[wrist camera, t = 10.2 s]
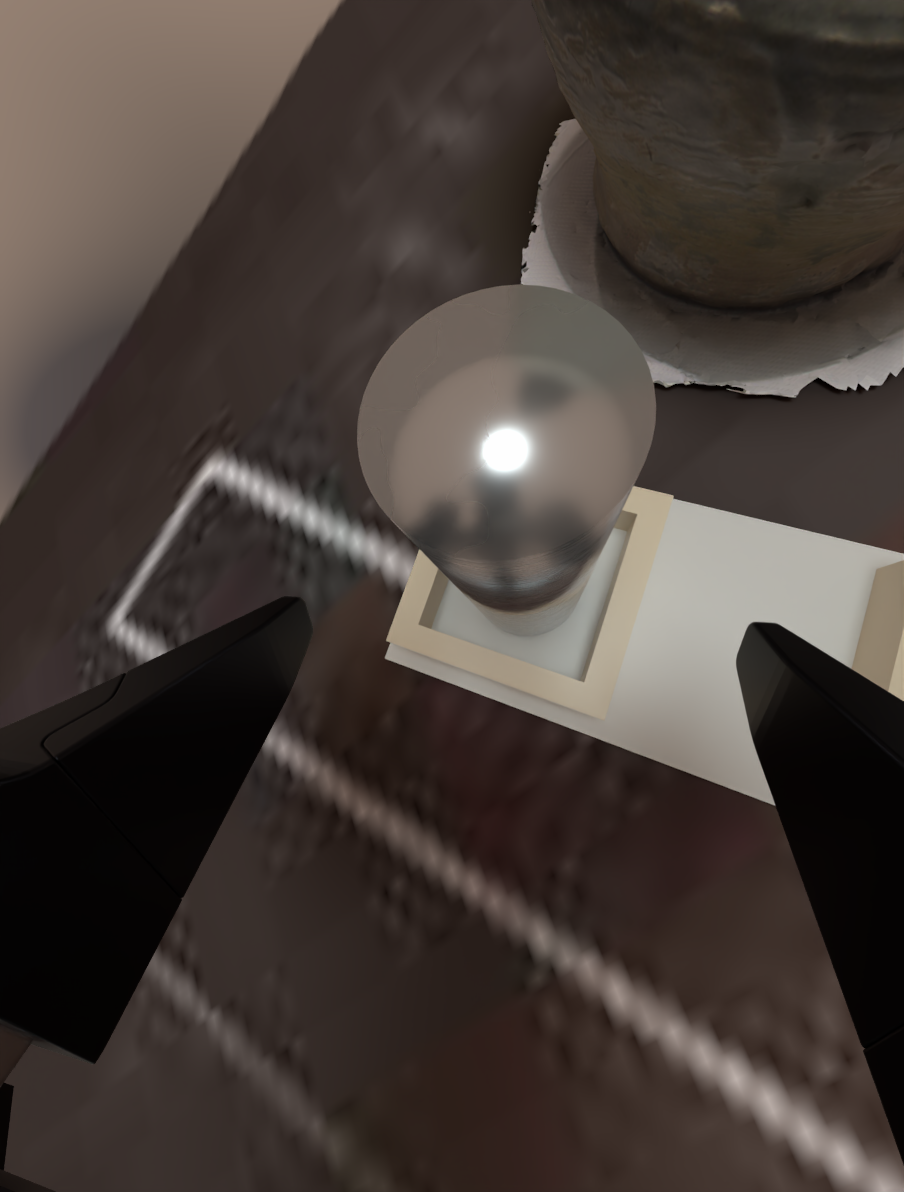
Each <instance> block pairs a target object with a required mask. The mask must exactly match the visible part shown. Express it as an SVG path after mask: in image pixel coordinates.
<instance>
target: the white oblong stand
mask: <svg viewBox="0 0 904 1192" xmlns="http://www.w3.org/2000/svg"><path fill="white" fill-rule="evenodd" d="M752 622H771V623H777V624H779V625H781V626H783V627H784V628H786V629H788V630H789V631H791V632H793V633H794V634H796V635H797V636H799V637H801V638H802V639H804V640H805V641H807V642H809V643H810V644H812V645H814V646H815V647H817V648H818V649H820V650H822V651H823V652H825V653H827V654H828V655H830V656H831V657H833V658H835V659H836V660H838V661H839V662H841V663H843V664H844V665H846V666H848V667H849V668H851V669H852V670H854V671H856V672H857V673H859V674H861V675H862V676H864V677H865V678H867V679H869V680H870V681H872V682H873V683H875V684H877V685H878V686H880V687H882V688H883V689H885V690H886V691H888V692H890V693H891V694H893V695H895V696H896V697H898V698H899V699H901V700H903V701H904V554H902V553H898V552H894V551H890V550H885V549H881V548H877V547H873V546H869V545H864V544H860V543H856V542H852V541H848V540H844V539H839V538H835V537H831V536H827V535H823V534H818V533H814V532H810V531H806V530H802V529H797V528H793V527H789V526H785V525H781V524H776V523H772V522H768V521H764V520H760V519H756V518H751V517H747V516H743V515H739V514H735V513H730V512H726V511H722V510H718V509H714V508H709V507H705V506H701V505H697V504H693V503H688V502H684V501H680V500H676V499H673V495H669V494H665V493H660V492H656V491H652V490H648V489H643V488H639V487H635V486H633V488H632V490H631V492H630V494H629V496H628V499H627V501H626V503H625V505H624V507H623V509H622V511H621V513H620V515H619V517H618V520H617V522H616V524H615V526H614V528H613V530H612V532H611V534H610V536H609V538H608V541H607V543H606V545H605V547H604V549H603V551H602V553H601V555H600V557H599V560H598V562H597V564H596V566H595V568H594V570H593V572H592V574H591V576H590V578H589V581H588V583H587V585H586V587H585V589H584V591H583V593H582V595H581V597H580V599H579V602H578V604H577V606H576V608H575V610H574V611H573V613H572V614H571V615H570V617H569V618H568V619H567V620H566V621H565V622H564V623H562V624H561V625H560V626H559V627H557V628H555V629H554V630H552V631H549V632H547V633H544V634H541V635H535V636H519V635H514V634H511V633H508V632H505V631H503V630H501V629H499V628H498V627H496V626H495V625H494V624H492V623H491V622H490V621H489V620H488V619H487V618H486V617H485V616H484V615H483V614H482V613H481V612H480V611H479V610H478V609H477V608H476V607H475V606H474V604H473V603H472V602H471V601H470V600H469V599H468V598H467V597H466V596H465V595H464V594H463V593H462V592H461V591H460V590H459V589H458V588H457V587H456V586H455V585H454V584H453V583H452V582H451V581H450V580H449V579H448V578H447V577H446V576H445V575H444V574H443V573H442V572H441V571H440V570H439V569H438V568H437V567H436V566H435V565H434V563H433V562H432V561H431V560H430V559H429V558H428V557H427V556H426V555H425V554H424V553H423V552H422V551H421V550H420V549H419V552H418V555H417V558H416V560H415V563H414V566H413V568H412V571H411V574H410V577H409V579H408V582H407V585H406V587H405V590H404V593H403V596H402V598H401V601H400V604H399V606H398V609H397V612H396V615H395V617H394V620H393V623H392V625H391V628H390V631H389V634H388V636H387V639H386V641H388V642H391V643H390V645H389V648H388V651H387V654H386V656H385V659H387V660H390V661H393V662H395V663H398V664H401V665H403V666H406V667H409V668H411V669H414V670H417V671H419V672H422V673H425V674H427V675H430V676H433V677H435V678H438V679H441V680H443V681H446V682H448V683H451V684H454V685H456V686H459V687H462V688H464V689H467V690H470V691H472V692H475V693H478V694H480V695H483V696H486V697H488V698H491V699H494V700H496V701H499V702H502V703H504V704H507V705H510V706H512V707H515V708H517V709H520V710H523V711H525V712H528V713H531V714H533V715H536V716H539V717H541V718H544V719H547V720H549V721H552V722H555V723H557V724H560V725H563V726H565V727H568V728H571V729H573V730H576V731H578V732H581V733H584V734H586V735H589V736H592V737H594V738H597V739H600V740H602V741H605V742H608V743H610V744H613V745H616V746H618V747H621V748H624V749H626V750H629V751H632V752H634V753H637V754H639V755H642V756H645V757H647V758H650V759H653V760H655V761H658V762H661V763H663V764H666V765H669V766H671V767H674V768H677V769H679V770H682V771H685V772H687V773H690V774H693V775H695V776H698V777H701V778H703V779H706V780H708V781H711V782H714V783H716V784H719V785H722V786H724V787H727V788H730V789H732V790H735V791H738V792H740V793H743V794H746V795H748V796H751V797H754V798H756V799H759V800H762V801H764V802H767V803H769V804H772V805H775V803H774V800H773V797H772V794H771V792H770V789H769V786H768V783H767V780H766V778H765V775H764V772H763V769H762V767H761V764H760V761H759V758H758V755H757V753H756V749H755V746H754V743H753V740H752V736H751V732H750V728H749V724H748V719H747V715H746V710H745V706H744V701H743V697H742V692H741V687H740V683H739V678H738V674H737V669H736V657H737V653H738V650H739V648H740V645H741V642H742V640H743V637H744V634H745V631H746V629H747V627H748V625H749V624H750V623H752Z"/></svg>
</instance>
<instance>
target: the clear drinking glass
mask: <svg viewBox="0 0 904 1192" xmlns="http://www.w3.org/2000/svg"><path fill="white" fill-rule="evenodd" d="M655 420H656V399H655V390H654V384H653V380H652V376H651V373H650V369H649V366H648V364H647V362H646V360H645V357H644V355H643V353H642V351H641V349H640V348H639V346H638V345H637V343H636V342H635V340H634V339H633V337H632V335H631V334H630V333H629V332H628V331H627V330H626V329H625V328H624V327H623V325H622V324H621V323H620V322H619V321H618V320H616V319H615V318H614V317H613V316H612V315H610V314H609V313H608V312H607V311H606V310H604V309H602V308H601V307H599V306H597V305H596V304H594V303H593V302H591V301H589V300H587V299H584V298H582V297H580V296H578V295H575V294H573V293H570V292H566V291H563V290H559V289H556V288H550V287H544V286H538V285H507V286H498V287H492V288H487V289H482V290H478V291H475V292H472V293H469V294H465V295H463V296H460V297H458V298H456V299H453V300H451V301H448V302H446V303H445V304H443V305H441V306H439V307H437V308H436V309H434V310H432V311H430V312H429V313H428V314H426V315H425V316H423V317H422V318H420V319H419V320H418V321H416V322H415V323H414V324H413V325H412V326H410V327H409V328H408V329H407V330H406V331H405V332H404V333H402V335H401V336H400V337H399V338H398V339H397V340H396V341H395V342H394V343H393V344H392V346H391V347H390V348H389V349H388V351H387V352H386V353H385V355H384V356H383V358H382V359H381V360H380V362H379V364H378V365H377V367H376V369H375V371H374V372H373V374H372V376H371V378H370V381H369V383H368V385H367V388H366V390H365V393H364V396H363V400H362V403H361V407H360V412H359V419H358V425H357V445H358V453H359V460H360V464H361V468H362V472H363V475H364V478H365V480H366V482H367V485H368V487H369V489H370V492H371V493H372V495H373V497H374V498H375V500H376V501H377V503H378V505H379V506H380V507H381V509H382V510H383V511H384V512H385V513H386V515H387V516H388V517H389V518H390V519H391V520H392V521H393V522H394V524H395V525H396V526H397V527H398V528H399V529H400V530H401V531H402V532H403V533H404V534H405V535H406V536H407V537H408V538H409V539H410V540H411V541H412V542H413V543H414V544H415V545H416V546H417V547H418V548H419V549H420V550H421V551H422V552H423V553H424V554H425V555H426V556H427V557H428V558H429V559H430V560H431V561H432V562H433V563H434V565H435V566H436V567H437V568H438V569H439V570H440V571H441V572H442V573H443V574H444V575H445V576H446V577H447V578H448V579H449V580H450V581H451V582H452V583H453V584H454V585H455V586H456V587H457V588H458V589H459V590H460V591H461V592H462V593H463V594H464V595H465V596H466V597H467V598H468V599H469V600H470V601H471V602H472V603H473V604H474V606H475V607H476V608H477V609H478V610H479V611H480V612H481V613H482V614H483V615H484V616H485V617H486V618H487V619H488V620H489V621H490V622H491V623H492V624H494V625H495V626H496V627H498V628H499V629H501V630H503V631H505V632H508V633H511V634H514V635H519V636H535V635H541V634H544V633H547V632H549V631H552V630H554V629H555V628H557V627H559V626H560V625H561V624H562V623H564V622H565V621H566V620H567V619H568V618H569V617H570V615H571V614H572V613H573V611H574V610H575V608H576V606H577V604H578V602H579V599H580V597H581V595H582V593H583V591H584V589H585V587H586V585H587V583H588V581H589V578H590V576H591V574H592V572H593V570H594V568H595V566H596V564H597V562H598V560H599V557H600V555H601V553H602V551H603V549H604V547H605V545H606V543H607V541H608V538H609V536H610V534H611V532H612V530H613V528H614V526H615V524H616V522H617V520H618V517H619V515H620V513H621V511H622V509H623V507H624V505H625V503H626V501H627V499H628V496H629V494H630V492H631V490H632V488H633V486H634V484H635V482H636V480H637V477H638V475H639V473H640V471H641V469H642V467H643V465H644V463H645V460H646V457H647V455H648V452H649V449H650V446H651V443H652V438H653V433H654V428H655Z"/></svg>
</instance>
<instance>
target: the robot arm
mask: <svg viewBox="0 0 904 1192" xmlns="http://www.w3.org/2000/svg"><path fill="white" fill-rule="evenodd" d="M312 634H313V626H312V622H311V619H310V616H309V613H308V610H307V606H306V603H305V601H304V600H303V599H302V598H301V597H292V596H284V597H281V598H279V599H277V600H275V601H273V602H271V603H269V604H267V605H265V606H262V607H260V608H258V609H256V610H254V611H252V612H250V613H248V614H246V615H244V616H242V617H240V618H238V619H235V620H233V621H231V622H229V623H227V624H225V625H223V626H221V627H219V628H217V629H215V630H213V631H210V632H208V633H206V634H204V635H202V636H200V637H198V638H196V639H194V640H192V641H190V642H188V643H186V644H183V645H181V646H179V647H177V648H175V649H173V650H171V651H169V652H167V653H165V654H163V655H161V656H158V657H156V658H154V659H152V660H150V661H148V662H146V663H144V664H142V665H140V666H138V667H136V668H134V669H131V670H129V671H128V672H127V674H125V673H123V674H121V675H119V676H117V677H115V678H113V679H110V680H108V681H106V682H104V683H102V684H100V685H98V686H96V687H93V688H91V689H89V690H87V691H85V692H83V693H81V694H78V695H76V696H74V697H72V698H70V699H67V700H65V701H63V702H60V703H58V704H56V705H54V706H51V707H49V708H47V709H44V710H42V711H40V712H37V713H35V714H33V715H30V716H28V717H26V718H23V719H21V720H19V721H16V722H14V723H12V724H9V725H7V726H5V727H2V728H0V1192H55V1191H53V1190H50V1189H48V1188H46V1187H43V1186H41V1185H38V1184H36V1183H33V1182H31V1181H28V1180H26V1179H23V1178H21V1177H18V1176H16V1175H13V1174H11V1173H8V1172H6V1171H4V1164H5V1155H6V1147H7V1138H8V1130H9V1122H10V1113H11V1105H12V1096H13V1088H14V1086H12V1085H9V1084H6V1083H4V1082H5V1080H6V1079H7V1077H8V1076H9V1074H10V1073H11V1072H12V1070H13V1069H14V1067H15V1066H16V1064H17V1063H18V1062H19V1060H20V1059H21V1057H22V1056H23V1054H24V1053H25V1052H26V1050H27V1049H28V1047H29V1046H30V1044H32V1045H35V1046H38V1047H41V1048H44V1049H47V1050H50V1051H53V1052H56V1053H60V1054H63V1055H66V1056H69V1057H72V1058H75V1059H78V1060H81V1061H84V1062H87V1063H90V1064H95V1063H96V1061H97V1060H98V1058H99V1057H100V1055H101V1053H102V1052H103V1050H104V1048H105V1046H106V1045H107V1043H108V1041H109V1039H110V1037H111V1035H112V1033H113V1031H114V1029H115V1028H116V1026H117V1024H118V1022H119V1020H120V1018H121V1016H122V1014H123V1012H124V1010H125V1008H126V1006H127V1005H128V1003H129V1001H130V999H131V997H132V995H133V993H134V991H135V989H136V987H137V985H138V983H139V981H140V980H141V978H142V976H143V974H144V972H145V970H146V968H147V966H148V964H149V962H150V960H151V958H152V957H153V955H154V953H155V951H156V949H157V947H158V945H159V943H160V941H161V939H162V937H163V936H164V934H165V932H166V930H167V928H168V926H169V924H170V922H171V920H172V918H173V916H174V915H175V913H176V911H177V909H178V907H179V905H180V903H181V901H182V899H181V898H183V897H184V895H185V893H186V891H187V889H188V887H189V885H190V883H191V881H192V879H193V878H194V876H195V874H196V872H197V870H198V868H199V866H200V864H201V862H202V860H203V858H204V856H205V855H206V853H207V851H208V849H209V847H210V845H211V843H212V841H213V839H214V837H215V835H216V834H217V832H218V830H219V828H220V826H221V824H222V822H223V820H224V818H225V816H226V814H227V812H228V811H229V809H230V807H231V805H232V803H233V801H234V799H235V797H236V795H237V793H238V791H239V789H240V788H241V786H242V784H243V782H244V780H245V778H246V776H247V774H248V772H249V770H250V768H251V767H252V765H253V763H254V761H255V759H256V757H257V755H258V753H259V751H260V749H261V747H262V745H263V744H264V742H265V740H266V738H267V736H268V734H269V732H270V730H271V728H272V726H273V724H274V722H275V721H276V719H277V717H278V715H279V713H280V711H281V709H282V707H283V705H284V703H285V701H286V699H287V697H288V695H289V693H290V691H291V689H292V686H293V684H294V681H295V679H296V676H297V674H298V671H299V669H300V666H301V664H302V661H303V658H304V656H305V653H306V651H307V648H308V646H309V643H310V641H311V638H312ZM736 669H737V674H738V678H739V683H740V687H741V692H742V697H743V701H744V706H745V710H746V715H747V719H748V724H749V728H750V732H751V736H752V740H753V743H754V746H755V749H756V753H757V755H758V758H759V761H760V764H761V767H762V769H763V772H764V775H765V778H766V780H767V783H768V786H769V789H770V792H771V794H772V797H773V800H774V803H775V806H776V808H777V811H778V814H779V817H780V820H781V822H782V825H783V828H784V831H785V834H786V836H787V839H788V842H789V845H790V847H791V850H792V853H793V856H794V859H795V861H796V864H797V867H798V870H799V873H800V875H801V878H802V881H803V884H804V887H805V889H806V892H807V895H808V898H809V901H810V903H811V906H812V909H813V912H814V914H815V917H816V920H817V923H818V926H819V928H820V931H821V934H822V937H823V940H824V942H825V945H826V948H827V951H828V954H829V956H830V959H831V962H832V965H833V968H834V970H835V973H836V976H837V979H838V981H839V984H840V987H841V990H842V993H843V995H844V998H845V1001H846V1004H847V1007H848V1009H849V1012H850V1015H851V1018H852V1021H853V1023H854V1026H855V1029H856V1032H857V1035H858V1037H859V1040H860V1043H861V1045H862V1046H863V1047H864V1048H865V1049H864V1050H863V1052H864V1055H865V1058H866V1061H867V1064H868V1066H869V1069H870V1072H871V1075H872V1078H873V1080H874V1083H875V1086H876V1089H877V1092H878V1094H879V1097H880V1100H881V1103H882V1106H883V1108H884V1111H885V1114H886V1117H887V1119H888V1122H889V1125H890V1128H891V1131H892V1133H893V1136H894V1139H895V1142H896V1145H897V1147H898V1150H899V1153H900V1156H901V1159H902V1161H903V1164H904V701H903V700H901V699H899V698H898V697H896V696H895V695H893V694H891V693H890V692H888V691H886V690H885V689H883V688H882V687H880V686H878V685H877V684H875V683H873V682H872V681H870V680H869V679H867V678H865V677H864V676H862V675H861V674H859V673H857V672H856V671H854V670H852V669H851V668H849V667H848V666H846V665H844V664H843V663H841V662H839V661H838V660H836V659H835V658H833V657H831V656H830V655H828V654H827V653H825V652H823V651H822V650H820V649H818V648H817V647H815V646H814V645H812V644H810V643H809V642H807V641H805V640H804V639H802V638H801V637H799V636H797V635H796V634H794V633H793V632H791V631H789V630H788V629H786V628H784V627H783V626H781V625H779V624H777V623H771V622H752V623H750V624H749V625H748V627H747V629H746V631H745V634H744V637H743V640H742V642H741V645H740V648H739V650H738V653H737V657H736Z"/></svg>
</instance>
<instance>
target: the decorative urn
mask: <svg viewBox="0 0 904 1192" xmlns="http://www.w3.org/2000/svg"><path fill="white" fill-rule="evenodd" d="M532 6H533V8H534V10H535V12H536V15H537V19H538V22H539V25H540V29H541V32H542V36H543V39H544V43H545V47H546V51H547V54H548V56H549V60H550V61H551V63H552V65H553V69H554V71H555V74H556V80H557V82H558V84H559V89H560V90H561V92H562V93H563V95H564V97H565V99H566V101H567V102H568V104H569V106H570V109H571V111H572V113H573V114H574V116H575V118H576V119H571V120H567V121H563V122H562V123H560V124H559V125H562V126H561V127H559V128H558V129H557V130H558V131H557V132H555V133H556V134H554V136H555V141H554V142H553V146H551V147H550V149H549V152H550V154H548V155H547V157H546V158H547V160H546V161H545V163H544V168H543V172H542V173H543V174H542V175H541V179H540V180H539V183H538V186H539V187H538V195H537V197H536V201H535V202H536V203H535V204H536V206H535V207H534V211H535V212H536V213H535V214H534V218H533V219H532V222H531V225H536V226H537V229H536V230H534V231H532V232H531V234H530V236H529V240H530V241H529V243H528V244H529V247H527V248H526V249H523V251H522V252H523V259H522V267H521V273H522V277H521V284H523V285H538V286H544V287H550V288H556V289H559V290H563V291H566V292H570V293H573V294H575V295H578V296H580V297H582V298H584V299H587V300H589V301H591V302H593V303H594V304H596V305H597V306H599V307H601V308H602V309H604V310H606V311H607V312H608V313H609V314H610V315H612V316H613V317H614V318H615V319H616V320H618V321H619V322H620V323H621V324H622V325H623V327H624V328H625V329H626V330H627V331H628V332H629V333H630V334H631V335H632V337H633V339H634V340H635V342H636V343H637V345H638V346H639V348H640V349H641V351H642V353H643V355H644V357H645V360H646V362H647V364H648V366H649V369H650V373H651V376H652V380H653V383H659V384H661V385H664V386H665V387H670V386H672V385H674V384H679V383H684V384H685V385H688V384H691V383H694V382H695V383H696V384H705V385H708V386H714V385H720V386H724V385H726V384H728V385H730V386H731V387H740V388H743V389H744V390H743V391H736V390H731V389H727V390H731V391H735V392H739V393H743V394H755V395H766V394H771V395H776V396H786V397H795V395H798V394H799V391H800V390H801V389H802V388H803V387H805V386H806V385H807V384H809V383H810V382H812V381H813V380H815V379H816V378H817V377H818V378H820V379H822V380H823V381H825V382H827V383H828V384H830V385H832V386H833V387H835V388H837V389H841V390H847V387H848V386H849V387H850V388H852V389H854V390H855V391H856V388H857V385H858V383H859V384H860V385H861V386H862V387H864V388H865V389H866V390H867V391H868V389H869V387H870V385H882V384H883V383H884V381H885V380H886V378H887V376H888V375H889V373H890V372H891V373H892V374H893V375H894V376H895V377H896V376H897V375H898V374H899V372H900V371H901V369H902V368H904V0H532ZM546 164H549V166H548V167H547V166H546ZM529 214H530V212H529ZM526 262H527V266H526V267H525V263H526ZM521 284H520V285H521Z"/></svg>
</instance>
